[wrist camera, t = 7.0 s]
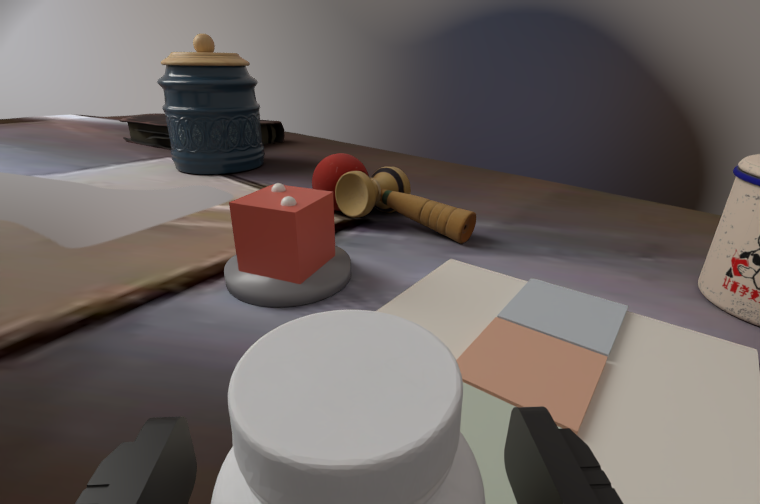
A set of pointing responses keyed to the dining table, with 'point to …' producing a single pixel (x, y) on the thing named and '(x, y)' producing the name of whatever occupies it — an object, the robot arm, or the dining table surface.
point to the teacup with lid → (737, 248)
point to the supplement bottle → (348, 416)
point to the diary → (156, 132)
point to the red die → (285, 248)
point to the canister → (211, 111)
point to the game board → (596, 385)
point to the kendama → (387, 196)
